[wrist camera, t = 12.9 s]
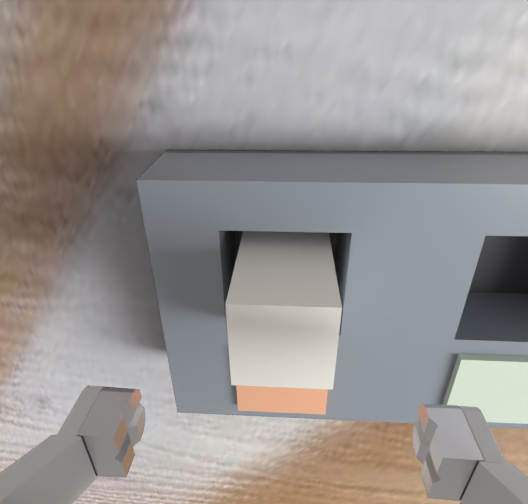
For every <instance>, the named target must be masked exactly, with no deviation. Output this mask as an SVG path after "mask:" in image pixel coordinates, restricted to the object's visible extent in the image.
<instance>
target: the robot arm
mask: <svg viewBox="0 0 528 504" xmlns="http://www.w3.org/2000/svg"><path fill="white" fill-rule="evenodd" d="M140 400H141V394H140V390H139V389H128V388H115V387H103V386H87V387H86V388H85V389H84V390H83V391H82V393H81V394H80V396H79V398H78V400H77V401H76V403H75V405H74V407H73V408H72V410H71V412H70V413H69V415H68V417H67V419H66V420H65V422H64V424H63V426H62V427H61V429H60V431H59V433H58V434H57V435H51V436H50V437H48V438H47V439H46V440H44V441H43V442H41V443H40V444H39V445H37V446H36V447H35V448H33V449H32V450H31V451H29V452H28V453H26V454H25V455H24V456H22V457H21V458H20V459H18V460H17V461H16V462H14V463H13V464H11V465H10V466H9V467H7V468H6V469H5V470H3V471H2V472H1V473H0V504H72V503H73V502H74V501H75V500H76V499H77V498H78V497H79V496H80V495H81V494H82V493H83V492H84V491H85V490H86V489H87V488H88V487H89V486H90V485H91V484H92V483H93V482H94V481H95V480H96V479H97V477H96V476H103V477H127V474H128V472H129V469H130V466H131V464H132V461H133V458H134V456H135V454H134V450H133V446H134V445H135V444H136V443H138V442H139V441H140V439H141V436H142V434H143V431H144V425H145V410H144V407H143V406H142V405H141V404H140V403H139V402H140ZM418 415H419V418H420V419H419V420H418V421H416V422H415V423H414V427H413V446H414V451H415V455H416V458H417V459H418V460H419V461H420V462H421V463H422V464H423V468H422V471H421V476H422V480H423V483H424V487H425V491H426V494H427V498H432V499H443V500H453V501H461V502H460V504H528V477H527V476H526V475H525V474H524V473H523V472H522V471H520V470H519V469H518V468H517V467H516V466H515V465H513V464H512V463H506V461H505V459H504V457H503V455H502V453H501V451H500V449H499V446H498V444H497V442H496V440H495V438H494V436H493V434H492V432H491V430H490V428H489V426H488V424H487V422H486V420H485V418H484V415H483V413H482V411H481V410H480V409H479V408H478V407H470V406H457V405H434V404H422V405H421V406H420V407H419V410H418Z"/></svg>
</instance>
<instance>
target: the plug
mask: <svg viewBox="0 0 528 504" xmlns="http://www.w3.org/2000/svg"><path fill="white" fill-rule="evenodd" d="M225 305H226V319H227V333H228V347H229V361H230V375H231V385H237V386H260V387H284V388H307V389H330V390H333V385H334V376H335V367H336V358H337V349H338V340H339V331H340V322H341V313H342V305H341V299H340V293H339V288H338V282H337V276H336V271H335V265H334V259H333V254H332V248H331V242H330V237H329V233H323V232H270V231H243V234H242V238H241V242H240V246H239V250H238V254H237V258H236V262H235V267H234V271H233V275H232V279H231V283H230V287H229V291H228V296H227V300H226V304H225Z"/></svg>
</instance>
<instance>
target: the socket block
mask: <svg viewBox="0 0 528 504" xmlns="http://www.w3.org/2000/svg"><path fill="white" fill-rule="evenodd" d="M136 182H137V188H138V194H139V199H140V205H141V210H142V216H143V222H144V227H145V233H146V238H147V244H148V250H149V255H150V261H151V266H152V272H153V278H154V283H155V289H156V294H157V300H158V306H159V311H160V317H161V322H162V328H163V334H164V339H165V345H166V350H167V356H168V362H169V367H170V373H171V379H172V384H173V390H174V395H175V401H176V407H177V412H181V413H202V414H224V415H245V416H266V417H288V418H309V419H330V420H352V421H373V422H395V423H415V422H416V421H418V420H419V419H420V418H419V415H418V410H419V407H420V406H421V405H422V404H434V405H457V406H470V407H478V408H479V409H480V410H481V411H482V413H483V415H484V418H485V420H486V422H487V424H488V426H489V427H502V428H523V429H528V152H419V151H267V150H166V151H165V152H164V153H163V154H162V155H161V156H160V157H159V158H158V159H157V160H156V161H155V162H154V163H153V164H152V165H151V166H150V167H149V168H148V169H147V170H146V171H145V172H144V173H143V174H142V175H141V176H140V177H139V178H138V179H137V180H136ZM243 231H270V232H323V233H329V237H330V242H331V248H332V254H333V259H334V265H335V271H336V276H337V282H338V288H339V293H340V299H341V305H342V313H341V322H340V331H339V340H338V349H337V358H336V367H335V376H334V385H333V390H330V389H307V388H284V387H260V386H237V385H231V375H230V361H229V347H228V333H227V319H226V305H225V304H226V300H227V296H228V291H229V287H230V283H231V279H232V275H233V271H234V267H235V262H236V258H237V254H238V250H239V246H240V242H241V238H242V234H243Z"/></svg>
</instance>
